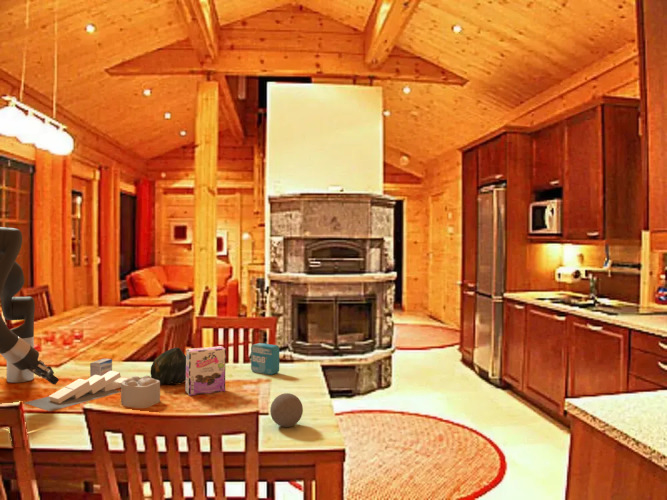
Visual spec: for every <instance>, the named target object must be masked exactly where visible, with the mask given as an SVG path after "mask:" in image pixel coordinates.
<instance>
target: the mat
mask: <svg viewBox="0 0 667 500" xmlns="http://www.w3.org/2000/svg"><path fill="white" fill-rule="evenodd" d="M119 393H121V390H116V389H113V390H109V391H102V390H99V391H97V392H96V393H94V394H92V393H88V392H87V393H85V394H84V395H82V396H81V397H79V398H77V399H75V398H72V397H70V398H68V399H66V400H65V401H63V402H61V403H56V402H53V401H50V399H49V396H45V397H41V398H37V399H33V400H29V401H26V402H24V404H26V405H28V406H32V407H35V408H38V409H41V410H44V411H47V412H53V411H56V410H60V409H61V410H62V409H65V408H68V407H71V406H76V405H78V404H79V405H80V404H82V403H87V402H90V401H93V400H97V399H101V398H105V397H108V396H111V395H115V394H119Z"/></svg>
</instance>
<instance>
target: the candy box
mask: <svg viewBox="0 0 667 500" xmlns="http://www.w3.org/2000/svg"><path fill="white" fill-rule="evenodd" d="M226 352H227V350H226V348H225V347H223V346H221V345H219V346H218V345H217V346H207V347H197V348H195V347H194V348H193V347H192V348H186V349H185V356H186V380H185V391H184V392H185V394H187V395H188V396H197V395H199V396H200V395H205V394H207V393H208V394H215V393H222V392H221V391H224V392H226V354H227V353H226ZM214 392H215V393H214ZM208 394H207V395H208Z"/></svg>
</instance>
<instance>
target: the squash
mask: <svg viewBox="0 0 667 500" xmlns="http://www.w3.org/2000/svg"><path fill="white" fill-rule="evenodd" d="M149 372H150V377H151V378H153V379H155V380H159V381H160V386H163V385H166V384H167V385H171V384H175V385H176V384H177V385H180V384H181V385H182V384H183V383H184V382H186V353H184V352H183V350H182V349H181V348H179V347H173V348H170V349H168V350H166V351H164V352H162V353H161V354H159V355H158V356H157V357H156V358H155V359H154V360H153V362H152V364H151V365H150V371H149Z"/></svg>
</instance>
